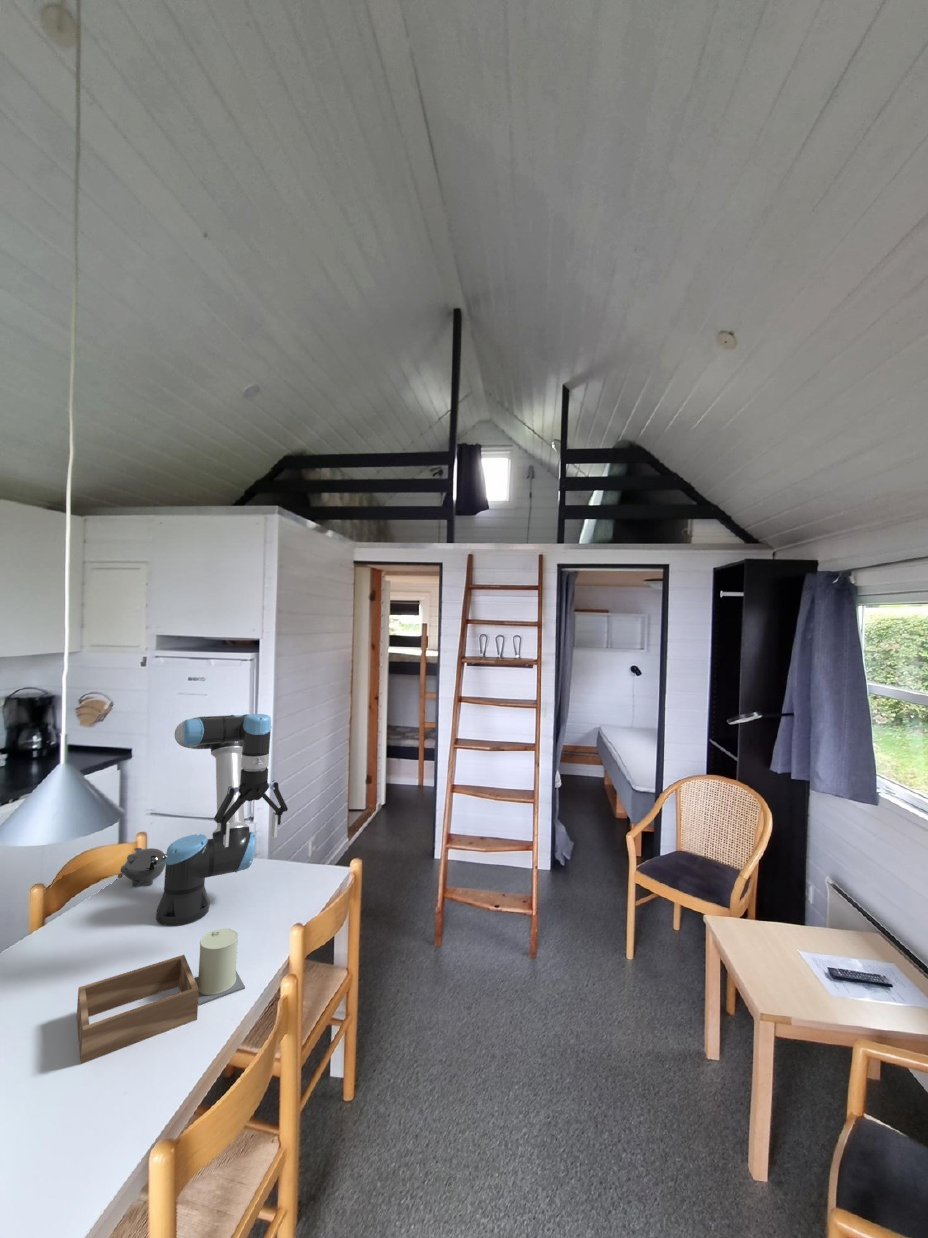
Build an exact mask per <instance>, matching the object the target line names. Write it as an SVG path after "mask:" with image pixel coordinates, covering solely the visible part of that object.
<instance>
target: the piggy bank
mask: <svg viewBox="0 0 928 1238" xmlns="http://www.w3.org/2000/svg"><path fill="white" fill-rule="evenodd" d="M134 851H135V852H134V853H131V854H129V855H127V857H126V861H125V863H124V864H122V866H121V867H120V873H122V874H123V875H124V877H125V878H127V879H128V880H130V881H132V884H131V885H132V887H137V886H138V885H139V884H140V883H141V882H142V883H143V882H145V885H146V886H147V887H148V886H149V887H150V886H152V885H153V884H154V880H155V879H157V878H158V877H160V876H161V874H162V873H163V871H164V870H165V868H166V864H165V859H166V853H164V852H163V851H162V850H161V849H158V848H154V847H153V848H142V847H134Z"/></svg>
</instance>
